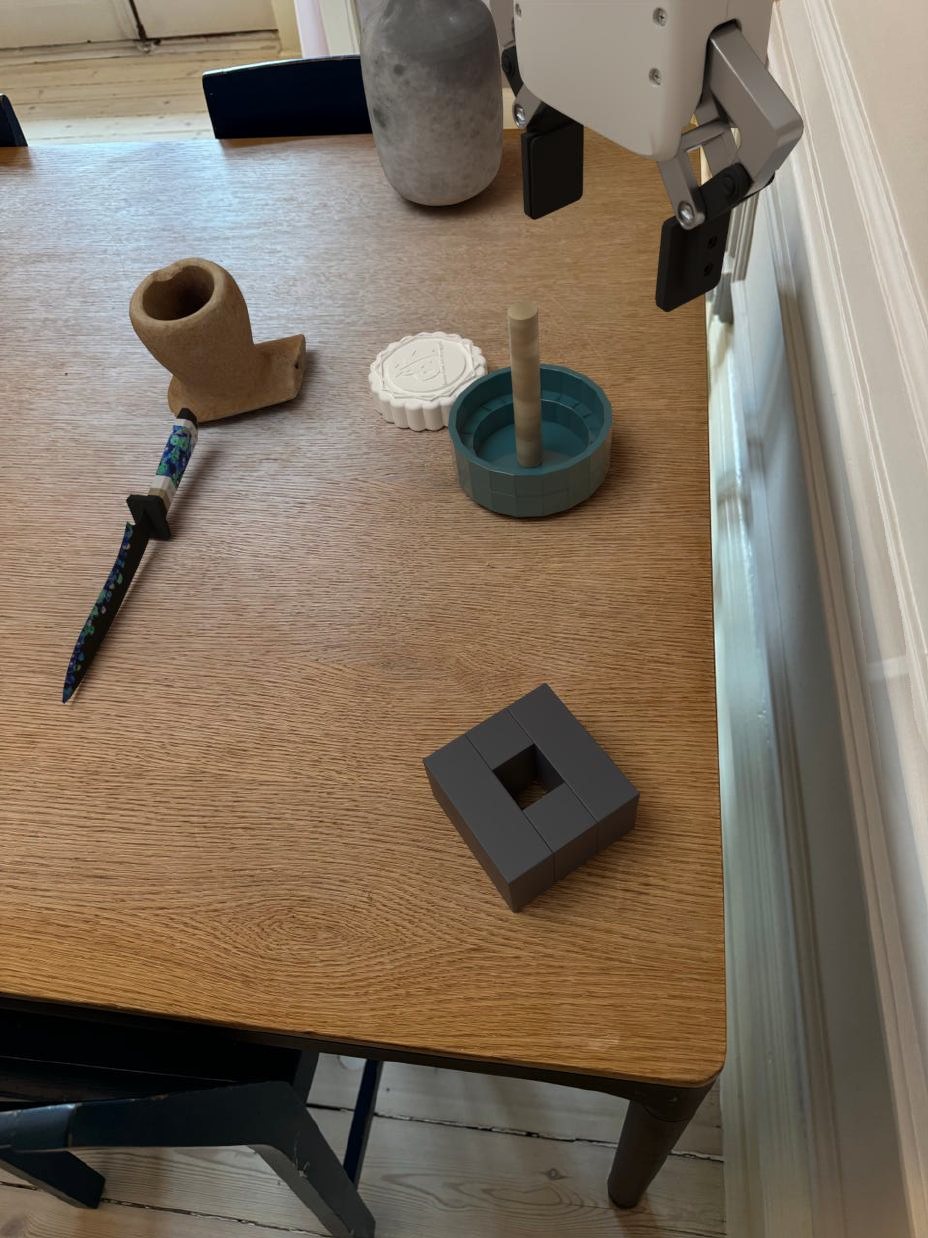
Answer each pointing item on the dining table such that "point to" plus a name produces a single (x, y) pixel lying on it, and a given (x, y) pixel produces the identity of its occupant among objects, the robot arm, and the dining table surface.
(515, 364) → the stick
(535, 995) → the dining table surface
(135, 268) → the dining table surface
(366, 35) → the vase
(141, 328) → the brown hollow clay piece
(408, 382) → the mooncake
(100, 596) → the knife
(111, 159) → the dining table surface
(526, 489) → the bowl
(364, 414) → the dining table surface
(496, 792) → the holder
